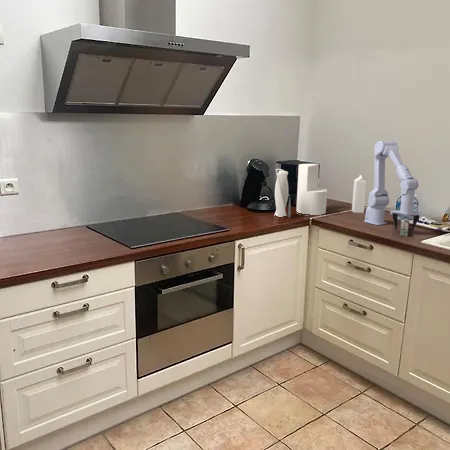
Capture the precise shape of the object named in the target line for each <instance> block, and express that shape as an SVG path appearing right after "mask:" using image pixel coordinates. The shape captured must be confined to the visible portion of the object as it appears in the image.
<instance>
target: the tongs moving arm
mask: <svg viewBox="0 0 450 450" xmlns="http://www.w3.org/2000/svg"><path fill="white" fill-rule="evenodd" d="M405 223H407V222H401V226H400V233H399V235H400V236H403V237H405V236H404V228H405Z"/></svg>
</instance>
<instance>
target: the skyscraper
mask: <svg viewBox="0 0 450 450" xmlns="http://www.w3.org/2000/svg"><path fill="white" fill-rule="evenodd" d="M275 173H276V181H275V187H274V200H275V201H274V203H275V209H276V210H275V212H274V216H275V215H276V216H278V217H283V216H287V217H290V218H292V217H291V215H292V213H291V212H292V211H291V209H292V208H291V207H292V204H291V199H289V182H288V174H289V172H288V171H286V170H284V169H281V168H276V169H275ZM288 199H289V200H288ZM287 203H288V204H287ZM287 205H288V206H287ZM286 207H287V212H286Z"/></svg>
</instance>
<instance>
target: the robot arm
mask: <svg viewBox="0 0 450 450" xmlns="http://www.w3.org/2000/svg"><path fill="white" fill-rule="evenodd" d="M399 148H400V147H399V145H398V143H397V141H395V140H386V141H385V140H379V141H377V142H376V143H375V144H374V160H373V161H374V163H373V167H374V169H373V170H374V171H373V172H374V173H373V189H372V190H371V191H370V192H369V193H368V194H369V195H368V199H367V203H368V206H367V207H366V209H365V216H364V217H365V218H364V221H363V222H364V223H367V224H372V225H376V226H382V225H386V224H388V222H385V211H386V208H387V206H388V205H389V204H390V197H389V191H387V190H386V189H385V187H386V186H385V185H386V181H385V180H386V176H385V175H386V159H387V158H388V157H389V158H390V159H391V162H392V163H393V165H394V166H395V168H396V169H395V173H396V175H397V177H398V178H399V181H400V184H399V187H400V193H401V199H400V208H399V210H398V209H397V210H396V209H395V210H394V209H391V210H390V213H389V214H390V215H392V219H393V222H394V226H395V228H394V230H398V217H399V216H406V217H412V218H413V219H412V220H413V222H412V226H411V231H412V232H414V229H415V227H416V225H417V223H418V221H419V219H420V218H422V217H423V212H419V211H413V210H414V204H415V203H414V202H415V193H416V192H415V191H416V190H417V189H418V187H419V182H418V179H417V178H416V177H414V176H412V173H411V171H410V170H409V167H408V166H407V165H404V163H403V160H402V158H401V155H400V153H399Z"/></svg>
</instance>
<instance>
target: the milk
mask: <svg viewBox="0 0 450 450" xmlns="http://www.w3.org/2000/svg"><path fill="white" fill-rule="evenodd" d="M352 190H353V191H352V192H353V193H352V203H351V211H352V212H353V213H358V214H364V213H365V204H366V195H367V194H366V193H367V181H366V180H365V179H364V178H363V175H361V174H359V176H358V177H357V178H355V179H354V180H353V189H352Z"/></svg>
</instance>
